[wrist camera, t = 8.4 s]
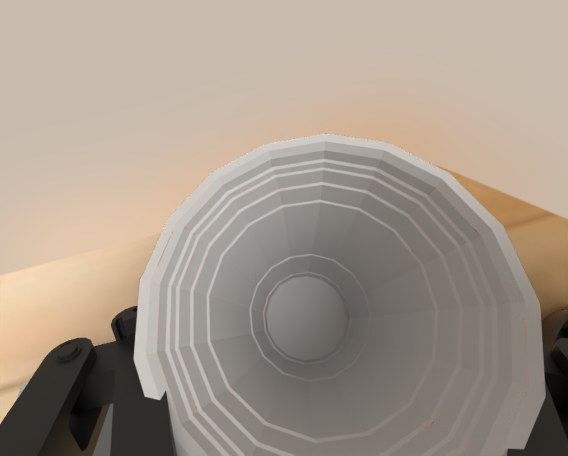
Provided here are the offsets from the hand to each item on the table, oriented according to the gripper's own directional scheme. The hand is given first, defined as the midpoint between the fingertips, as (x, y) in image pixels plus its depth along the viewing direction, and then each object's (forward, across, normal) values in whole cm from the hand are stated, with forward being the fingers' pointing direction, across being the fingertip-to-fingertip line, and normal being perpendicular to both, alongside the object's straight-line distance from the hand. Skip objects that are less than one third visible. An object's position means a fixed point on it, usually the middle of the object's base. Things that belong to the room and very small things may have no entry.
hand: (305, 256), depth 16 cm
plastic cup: (+1, 0, -5) cm, 5 cm away
